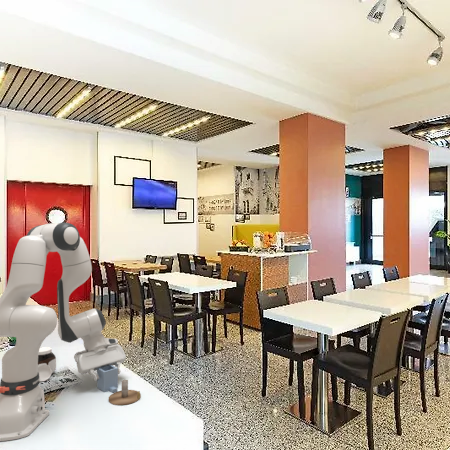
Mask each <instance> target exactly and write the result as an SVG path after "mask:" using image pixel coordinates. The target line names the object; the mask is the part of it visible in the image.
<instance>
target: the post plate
mask: <svg viewBox="0 0 450 450" xmlns="http://www.w3.org/2000/svg"><path fill="white" fill-rule="evenodd" d="M141 395H142V394H141V392H140V390H139V391H138V390H135V389H129V380H128V379H122V380H121V390H117V392H114V393H111V394H110V395H109V396H108V403H110V404H111V405H114V406H127V405H131V404H134V403H137V402H138V401H140V399H141Z"/></svg>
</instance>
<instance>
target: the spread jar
mask: <svg viewBox="0 0 450 450" xmlns="http://www.w3.org/2000/svg"><path fill="white" fill-rule="evenodd" d="M52 349H53V348H52V347H49V346H43V347H41V346H40V349H39V354H38V373H39V377H40V379H39V382H46V381H48V380H49V379H50V378H51V376H53V374H54V373H55V372H56V369H57V357H56V354H55V353H53V352H52Z"/></svg>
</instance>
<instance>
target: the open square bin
mask: <svg viewBox="0 0 450 450" xmlns="http://www.w3.org/2000/svg"><path fill="white" fill-rule="evenodd" d="M96 375H99V378H100V379H99V380H98V381H96V382H97V383H96V387H97V389H99V390H100V391H101V392H103V393H106V392H110V393H111V394H113V393H115V392H118V388H119V374H118V368H117V367H115V365H111V364H110V365H107V366H103V367H100V368H97V370H96Z"/></svg>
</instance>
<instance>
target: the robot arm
mask: <svg viewBox="0 0 450 450" xmlns="http://www.w3.org/2000/svg"><path fill="white" fill-rule="evenodd" d="M56 252H57V253H58V254H59V257H60V262H61V266H62V274H61V278H59V280H58V281H57V285H56V288H57V289H56V296H57V297H56V298H57V299H56V300H57V312H56V310H55V309H54V308H52V307H49V306H44V305H40V304H27V302H28V301H29V299H30V298H31V296H33V295H34V294H37V293H38V292H40V290H41V289H42V288H43V285H44V280H45V279H44V278H45V272H46V264H47V256H48V255H49V253H56ZM11 261H12V262H11V266H10V271H9V275H8V279H7V284H6V286H5V289H4V291H3V293H2V294H1V296H0V337H7V338H15V340H16V341H15V345H14V347H12V348H10V349H8V350H7V351H6V352H4V354H3V356H2V359H1V378H0V442H6V441H13V440H18V439H22V438H26V437H28V436H29V435H31V434H32V433H33V432H34V431H35V430H36V428H38V427H39V425H40V424H41V423H42V422H43V421H44V420H45V419H46V418H47V417H48V416H49V415H50V410H49V409H46V406H45V405H46V404H45V391H44V389H43V388H41V386H40V381H39V379H40V377H39V373H38V354H39V349H40V348H41V346H42V344H43V342H44V341H45V340H46V338H47V337H49V336H50V335H51V334H52V333H54V331H55V330H56V327H57V335H58V337H59V338H60V340H61V341H63V342H64V343H65V342H66V343H73V342H75V341H77V340H78V339H81V340H82V341H83V347H84V350H82V351H77V352H76V353H75V354H74V355H73V359H74V361H75V362H76V367H77V372H78V374H80V375H85V374H88V375H89V376H91V378H92V379H93V380H94V382H97V381H98V380H99V379H100V378H99V375H97V373H94V372H95V371H96V372H97V368H100V367H103V366H107V365H110V364H111V365H113V366H115V367H117V368H118V375H119V374H121V369H120V367H121V364H122V363H124V362H125V361H126V358H127V356H126V353H125V351H124V349H123V347H122V345H120V344H119V341H118V338H108V337H105V335H103V333H102V331H103V330H104V328H105V327H106V324H107V321H106V319H105V316H104V314H103V311H102V310H100V309H99V308H92V309H91V308H90V309H88V310H85V311H83V312H81V313H76V314H74V315H70V303H69V302H70V301H69V300H70V296H71V294H72V293H73V292H74V291H75V290H76V289H77V288H78V287H80V286H82V285H83V284H85V283H86V281H87V280H89V278H90V276H91V275H92V272H93V266H92V261H91V258H90V254H89V251H88V248H87V245H86V243H85V241H84V239H83V238H82V237H81V235H80V232H79V230H78V228H77V227H76V226H75V225H74V224H72V223H69V222H55V223H53V222H51V223H46V224H42V225H36V226H34V227H32V228H30V230H28V232H27V234H26V235H24V236H23V237H21V238H20V239H18V241H17V244H16V247H15V250H14V252H13V257H12V259H11Z"/></svg>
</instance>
